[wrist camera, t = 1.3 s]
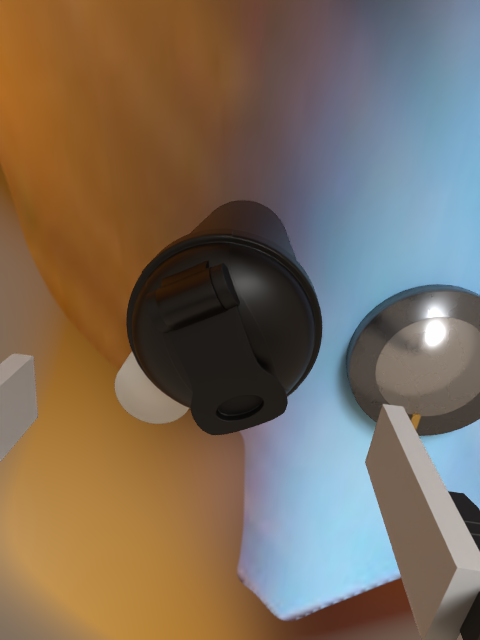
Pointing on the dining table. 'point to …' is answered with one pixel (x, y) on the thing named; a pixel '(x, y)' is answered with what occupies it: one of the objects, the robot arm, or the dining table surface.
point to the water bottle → (227, 319)
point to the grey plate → (420, 358)
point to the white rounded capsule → (144, 396)
